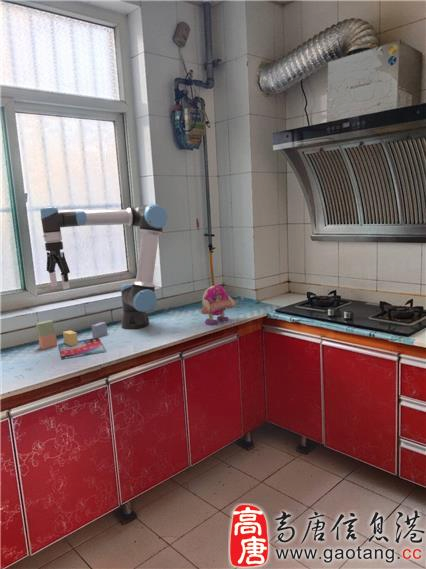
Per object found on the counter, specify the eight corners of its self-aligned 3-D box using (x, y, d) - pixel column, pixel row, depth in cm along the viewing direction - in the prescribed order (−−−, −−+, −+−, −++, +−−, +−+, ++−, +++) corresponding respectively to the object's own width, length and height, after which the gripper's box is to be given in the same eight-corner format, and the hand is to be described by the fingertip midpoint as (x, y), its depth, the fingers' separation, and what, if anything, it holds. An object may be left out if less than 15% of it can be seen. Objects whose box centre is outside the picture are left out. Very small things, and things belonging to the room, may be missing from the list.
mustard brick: (64, 344, 211) (63, 331, 210) (71, 342, 213) (69, 330, 212) (71, 346, 206) (69, 334, 205) (78, 344, 208) (76, 332, 207)
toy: (205, 328, 223) (203, 289, 220) (195, 325, 230) (192, 288, 226) (241, 318, 238) (239, 282, 235) (230, 316, 245) (228, 281, 242)
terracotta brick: (54, 344, 212) (52, 332, 211) (57, 345, 209) (55, 333, 208) (39, 347, 207) (38, 335, 206) (42, 349, 204) (41, 336, 203)
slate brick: (101, 333, 226) (100, 322, 225) (107, 333, 224) (106, 322, 223) (92, 337, 220) (91, 325, 219) (98, 337, 218) (96, 326, 217)
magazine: (61, 361, 187) (61, 359, 187) (58, 345, 210) (58, 343, 210) (106, 353, 194) (106, 351, 194) (98, 338, 217) (98, 337, 217)
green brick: (51, 332, 210) (50, 320, 209) (54, 333, 208) (53, 321, 207) (37, 335, 206) (35, 323, 205) (40, 336, 203) (38, 324, 202)
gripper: (35, 242, 205) (41, 286, 209) (56, 242, 187) (63, 291, 191) (50, 240, 210) (57, 283, 214) (73, 240, 192) (79, 288, 196)
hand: (60, 287), depth 203 cm, fingers open, 13 cm apart
